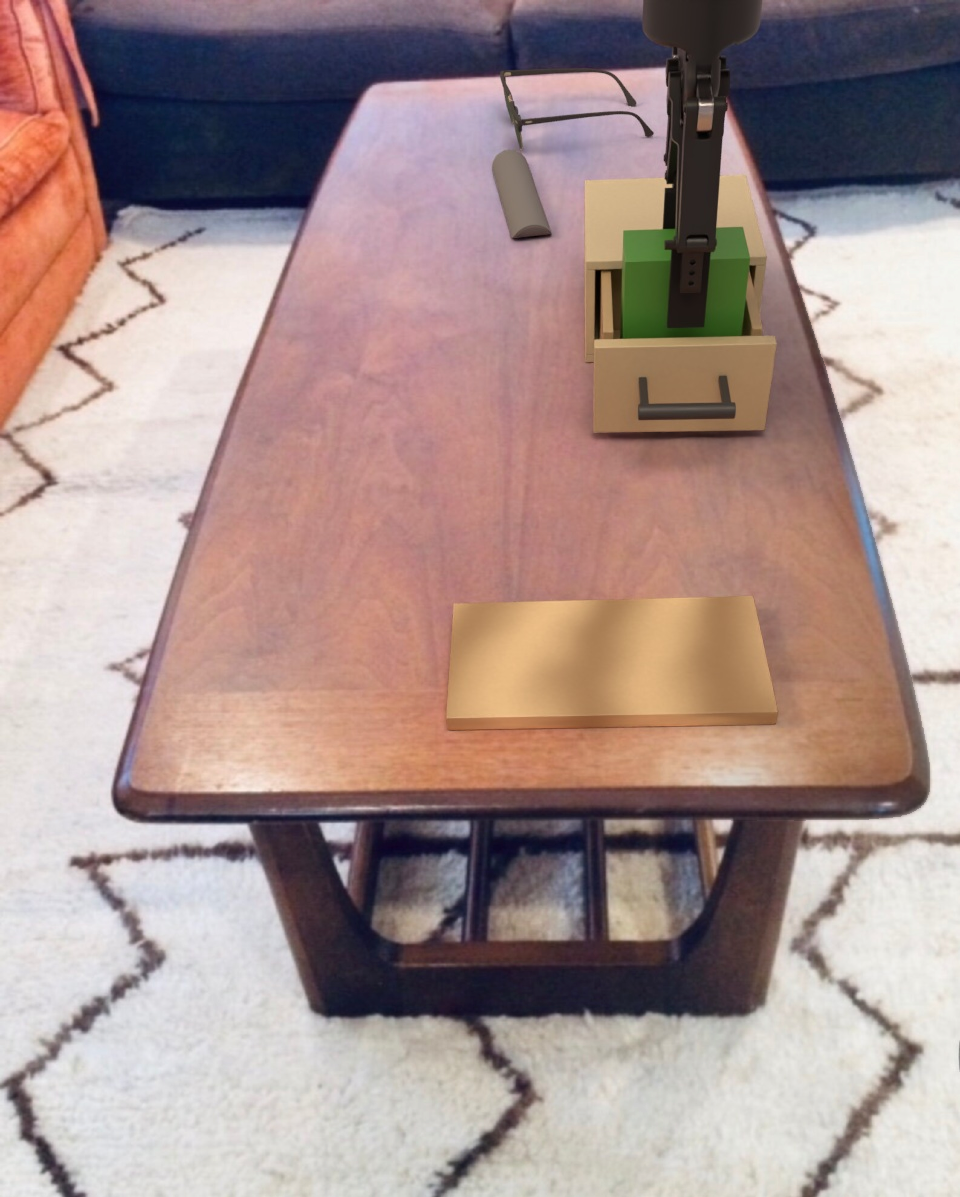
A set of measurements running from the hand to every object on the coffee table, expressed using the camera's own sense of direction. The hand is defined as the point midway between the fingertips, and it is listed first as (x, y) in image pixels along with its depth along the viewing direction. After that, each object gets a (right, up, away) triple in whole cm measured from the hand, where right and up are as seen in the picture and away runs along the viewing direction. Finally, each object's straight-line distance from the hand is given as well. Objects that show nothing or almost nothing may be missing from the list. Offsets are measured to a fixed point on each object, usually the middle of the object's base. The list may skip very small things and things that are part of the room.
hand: (681, 295), depth 85 cm
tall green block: (0, -5, +5) cm, 8 cm away
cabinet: (+1, +3, +17) cm, 17 cm away
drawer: (0, -7, +6) cm, 9 cm away
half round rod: (-11, +20, +36) cm, 43 cm away
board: (-7, -28, -14) cm, 32 cm away
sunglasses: (-4, +34, +49) cm, 60 cm away
